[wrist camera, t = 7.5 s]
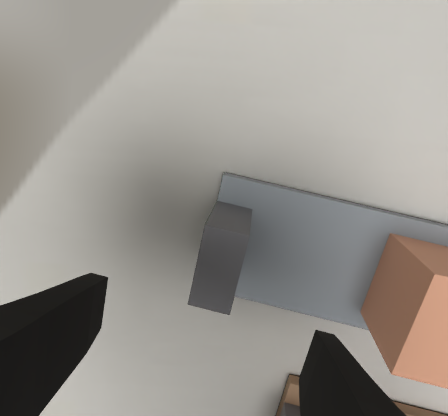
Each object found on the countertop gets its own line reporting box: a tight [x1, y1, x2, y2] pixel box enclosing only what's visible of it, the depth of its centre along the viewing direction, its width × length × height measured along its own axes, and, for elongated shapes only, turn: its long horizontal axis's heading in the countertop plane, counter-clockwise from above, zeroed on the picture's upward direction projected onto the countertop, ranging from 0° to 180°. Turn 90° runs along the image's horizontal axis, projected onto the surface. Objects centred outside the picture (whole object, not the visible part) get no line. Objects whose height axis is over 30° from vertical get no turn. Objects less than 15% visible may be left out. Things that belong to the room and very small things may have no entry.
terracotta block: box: [360, 233, 448, 389], centre depth 17 cm, size 5×5×5 cm
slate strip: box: [188, 172, 448, 330], centre depth 18 cm, size 7×18×5 cm, turn 78°
